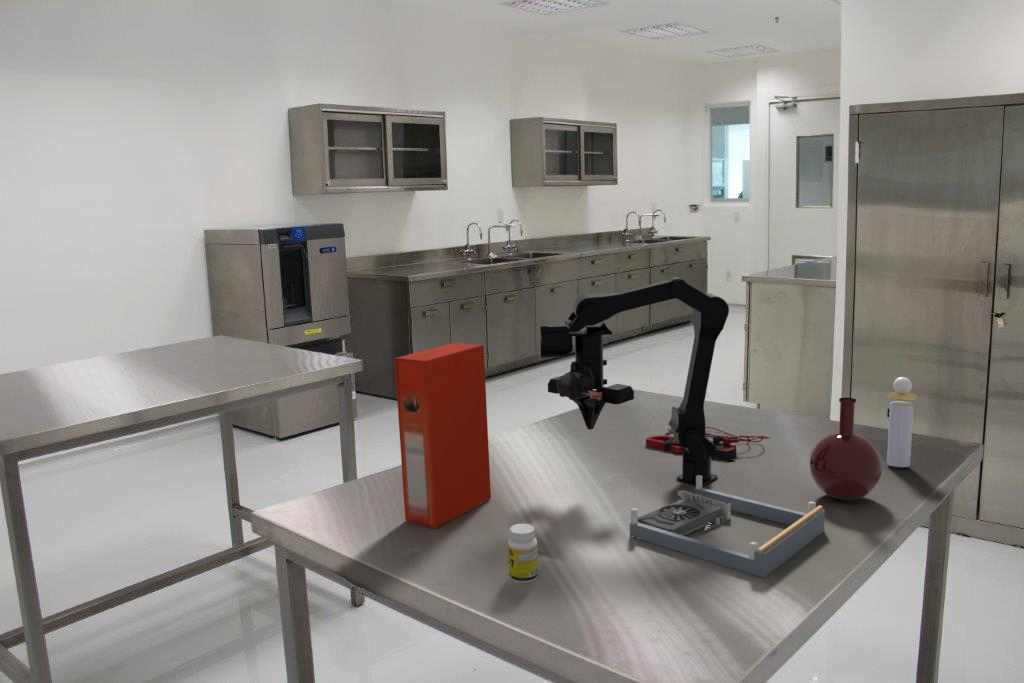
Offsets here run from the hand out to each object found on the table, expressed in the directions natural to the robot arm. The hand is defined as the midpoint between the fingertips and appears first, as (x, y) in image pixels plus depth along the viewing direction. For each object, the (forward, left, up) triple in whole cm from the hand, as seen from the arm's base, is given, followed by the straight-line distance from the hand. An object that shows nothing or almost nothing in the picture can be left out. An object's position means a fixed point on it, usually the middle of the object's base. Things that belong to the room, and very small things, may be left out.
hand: (590, 429), depth 171 cm
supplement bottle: (+41, +18, -12) cm, 46 cm away
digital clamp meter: (-40, +5, -13) cm, 42 cm away
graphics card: (+6, +25, -13) cm, 29 cm away
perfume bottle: (-49, +46, -12) cm, 68 cm away
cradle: (+6, +34, -12) cm, 36 cm away
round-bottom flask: (-24, +44, -12) cm, 52 cm away
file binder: (+29, -13, -12) cm, 34 cm away
